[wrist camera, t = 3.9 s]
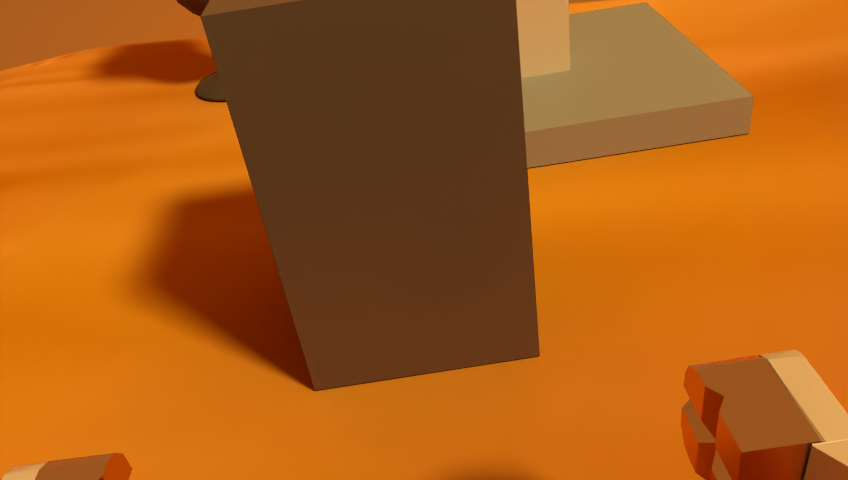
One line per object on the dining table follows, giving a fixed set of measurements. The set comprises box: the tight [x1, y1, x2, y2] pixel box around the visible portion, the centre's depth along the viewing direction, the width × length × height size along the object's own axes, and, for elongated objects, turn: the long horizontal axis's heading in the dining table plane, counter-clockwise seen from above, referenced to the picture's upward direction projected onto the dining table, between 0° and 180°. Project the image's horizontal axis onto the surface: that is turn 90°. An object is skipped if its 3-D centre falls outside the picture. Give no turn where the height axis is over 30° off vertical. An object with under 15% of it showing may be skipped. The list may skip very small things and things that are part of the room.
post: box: [516, 0, 754, 168], centre depth 31 cm, size 14×12×8 cm
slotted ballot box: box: [201, 0, 540, 391], centre depth 19 cm, size 6×6×10 cm
